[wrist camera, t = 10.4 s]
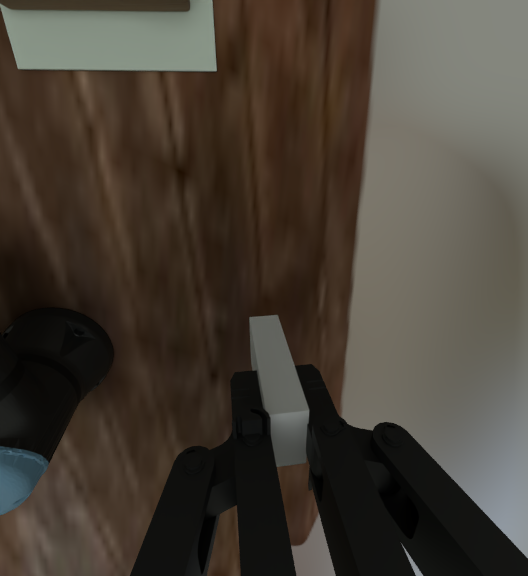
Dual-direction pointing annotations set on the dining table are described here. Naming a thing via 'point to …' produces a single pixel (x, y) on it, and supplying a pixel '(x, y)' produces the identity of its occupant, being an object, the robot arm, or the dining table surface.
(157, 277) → the dining table surface
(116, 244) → the dining table surface
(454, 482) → the robot arm
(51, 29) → the mat
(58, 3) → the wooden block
